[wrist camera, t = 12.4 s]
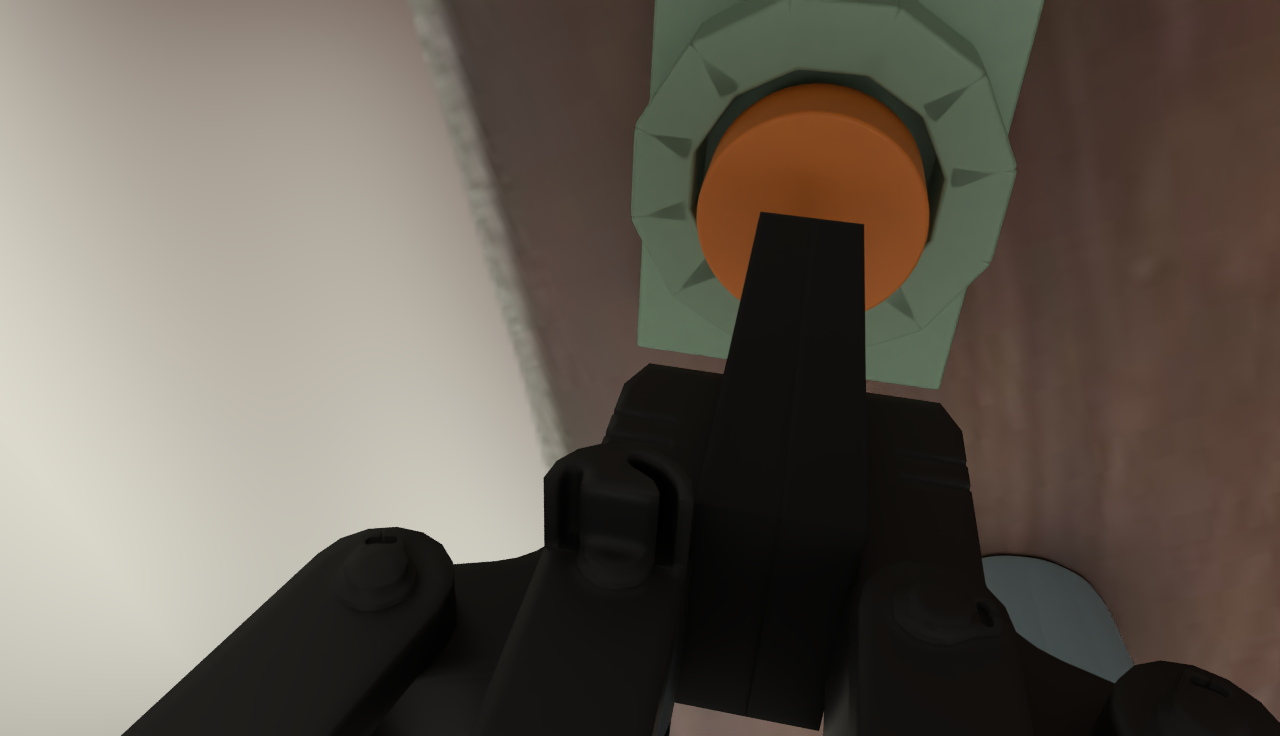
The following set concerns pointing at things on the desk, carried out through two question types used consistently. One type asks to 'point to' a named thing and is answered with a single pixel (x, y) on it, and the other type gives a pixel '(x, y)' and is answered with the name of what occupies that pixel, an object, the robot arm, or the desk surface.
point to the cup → (1058, 613)
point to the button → (817, 181)
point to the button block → (853, 57)
